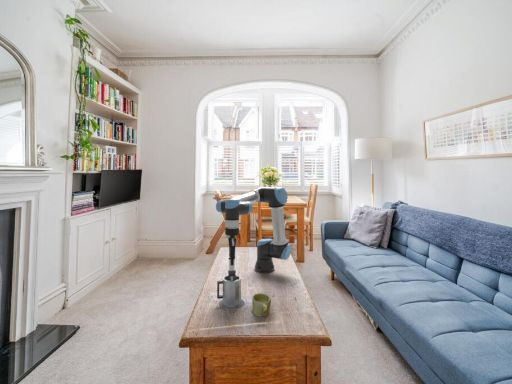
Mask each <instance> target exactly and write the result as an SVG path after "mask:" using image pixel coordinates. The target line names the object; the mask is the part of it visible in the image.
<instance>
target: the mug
mask: <svg viewBox="0 0 512 384" xmlns="http://www.w3.org/2000/svg"><path fill="white" fill-rule="evenodd" d="M271 299H272V298H271V296H269V295H268V294H266V293H262V292H261V293H256V294H255V293H254V295H253V296H252V309H251V310H252V313H253V315H255V316H257V317H258V316H260V317H264V316H267V315H268V314H269V313H270V309H271V301H272V300H271Z"/></svg>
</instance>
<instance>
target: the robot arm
mask: <svg viewBox="0 0 512 384" xmlns="http://www.w3.org/2000/svg"><path fill="white" fill-rule="evenodd" d="M258 203H263V204H267V205H268V208H270V212H271V222H272V223H271V224H272V234H273V239H272V238H262V239H259V240H258V241H257V243H256V261H255V264H254V270H255V271H256V272H259V273H264V272H266V273H271V271H272V272H274V271H275V265H274V261H273V259H278V260H284V261H288V259H289V258H290V256H291V255H292V245H291V243H289V240H288V239H287V238H286V229H285V228H286V226H285V217H284V207H285V206H286V204H287V203H288V192H287V190H286V189H285V188H284V187H281V186H262V187H257V188H254V189H251V190H250V191H249V192H247V193H243V194H241V195H238V196H235V197H232V198H227V199H226V200H223V199H222V200H221V199H220V200H218V201H217V202H216V204H215V209H216V211H217V213H221V214H225V218H224V219H225V221H223V223H224V225H225V228H224V234H225V236H228V238H227V241H228V260H229V261H228V263H229V266H228V267H229V268H228V271H234V270H235V259H236V245H237V238H236V236H238V235H240V216H243V215H244V216H246V215H250V214H251V213H252V212H253V210H254V209H253V208H254V207H253V204H258ZM273 270H274V271H273Z"/></svg>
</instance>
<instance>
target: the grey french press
mask: <svg viewBox="0 0 512 384" xmlns="http://www.w3.org/2000/svg"><path fill="white" fill-rule="evenodd" d="M216 282H217V283H216V285H217V286H216V287H217V288H216V291H217V292H216V293H217V294H216V298H217V299H222V300H223V305H224V306H225V307H229V308H234V307H237V306H239V305H240V304H241V299H242V277H241V276H240V275H238V274H236V275H234V276H233V281H231V276H229V275H228V274H227V275H224V276H223V277H222V280H217V281H216ZM220 285H222V294H221V295H220Z"/></svg>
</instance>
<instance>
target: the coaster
mask: <svg viewBox="0 0 512 384" xmlns="http://www.w3.org/2000/svg"><path fill="white" fill-rule="evenodd" d="M218 306H219V307H220V308H221V309H224V310H228V311H229V310H231V311H235V310H238V309H241V308H243V307H244V306H245V301H244V299H242V298H241V304H240V305H239V306H237V307H234V308H229V307H225V306H224V305H223V299H221V300H220V301H219V303H218Z"/></svg>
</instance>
